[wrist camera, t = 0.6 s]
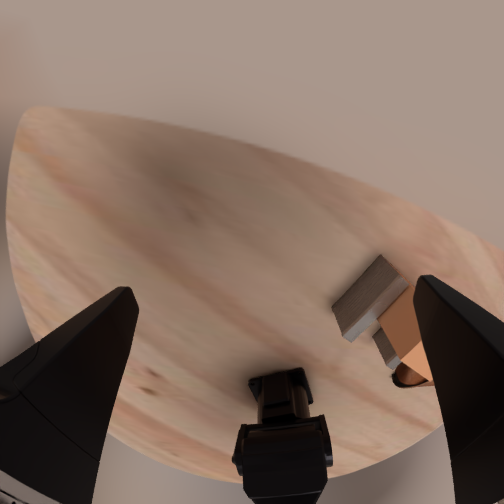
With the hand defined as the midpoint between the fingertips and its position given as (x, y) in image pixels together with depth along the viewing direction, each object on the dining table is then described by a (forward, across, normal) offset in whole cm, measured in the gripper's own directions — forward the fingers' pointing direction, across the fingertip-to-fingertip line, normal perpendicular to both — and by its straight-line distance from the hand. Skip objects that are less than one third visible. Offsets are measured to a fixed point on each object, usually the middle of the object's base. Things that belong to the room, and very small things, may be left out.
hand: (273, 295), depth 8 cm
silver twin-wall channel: (+15, -10, +14) cm, 23 cm away
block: (+15, -11, +13) cm, 23 cm away
